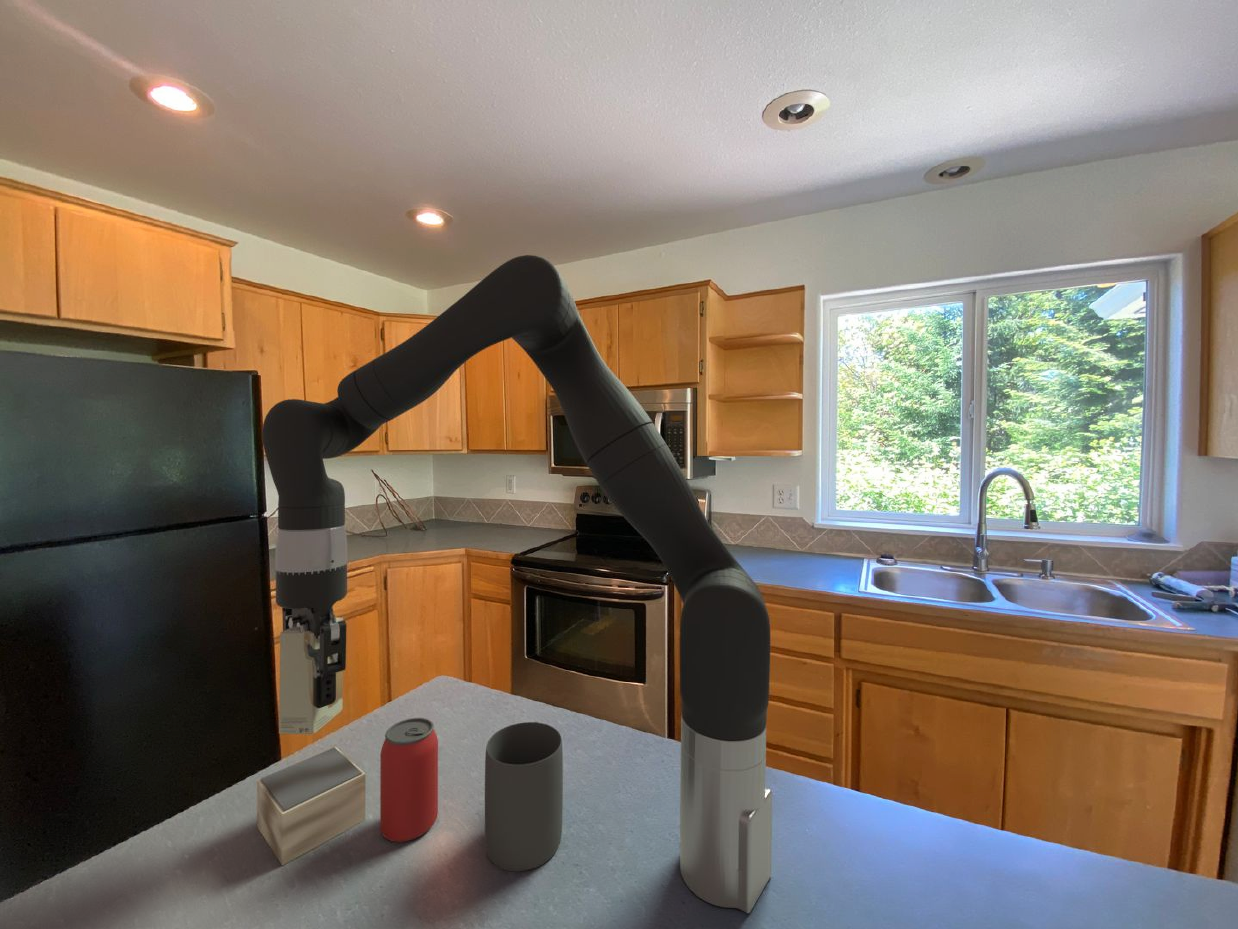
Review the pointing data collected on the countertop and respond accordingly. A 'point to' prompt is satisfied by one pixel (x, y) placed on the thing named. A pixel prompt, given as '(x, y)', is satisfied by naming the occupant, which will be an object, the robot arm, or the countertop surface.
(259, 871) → the countertop surface
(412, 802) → the beer can
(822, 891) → the countertop surface
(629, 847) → the countertop surface
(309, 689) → the skincare box
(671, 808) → the countertop surface
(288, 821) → the birch plinth
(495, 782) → the mug
